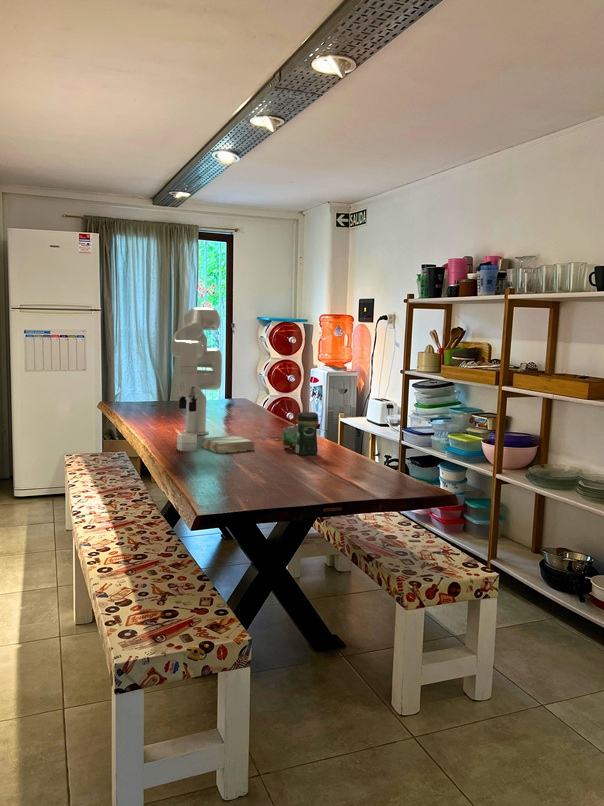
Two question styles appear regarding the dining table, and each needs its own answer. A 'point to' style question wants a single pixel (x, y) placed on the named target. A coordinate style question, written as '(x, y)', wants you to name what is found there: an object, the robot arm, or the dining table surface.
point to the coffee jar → (307, 433)
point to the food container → (290, 436)
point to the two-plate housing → (187, 442)
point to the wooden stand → (227, 444)
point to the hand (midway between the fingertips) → (187, 409)
